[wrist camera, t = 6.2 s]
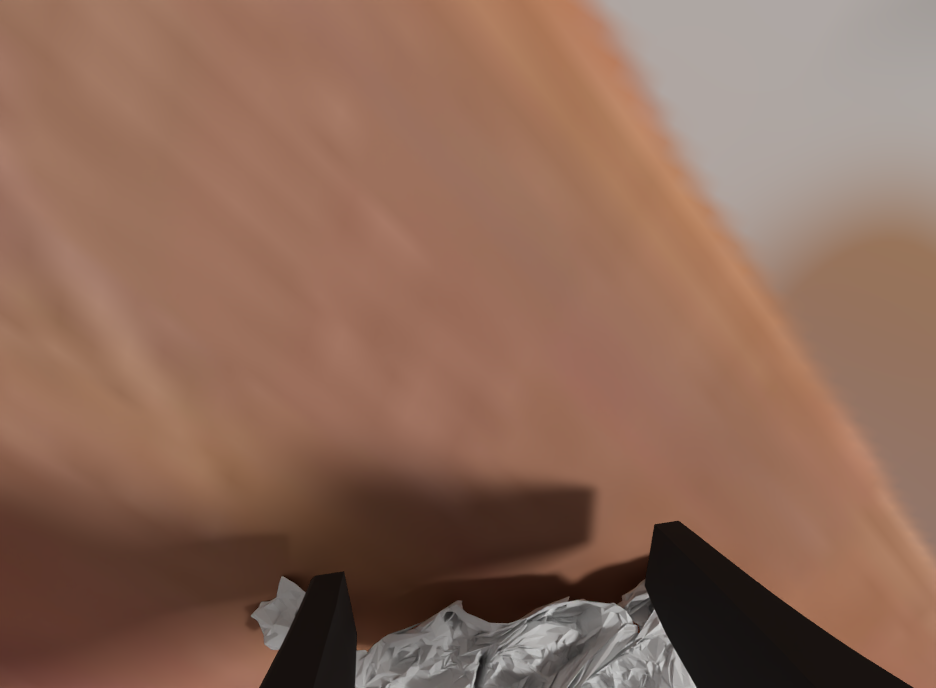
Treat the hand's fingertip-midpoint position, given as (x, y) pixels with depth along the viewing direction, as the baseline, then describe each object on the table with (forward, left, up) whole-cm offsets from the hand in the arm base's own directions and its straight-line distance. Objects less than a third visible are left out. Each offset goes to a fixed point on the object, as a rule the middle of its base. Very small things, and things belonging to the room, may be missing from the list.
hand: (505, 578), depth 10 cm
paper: (+1, -3, -2) cm, 4 cm away
